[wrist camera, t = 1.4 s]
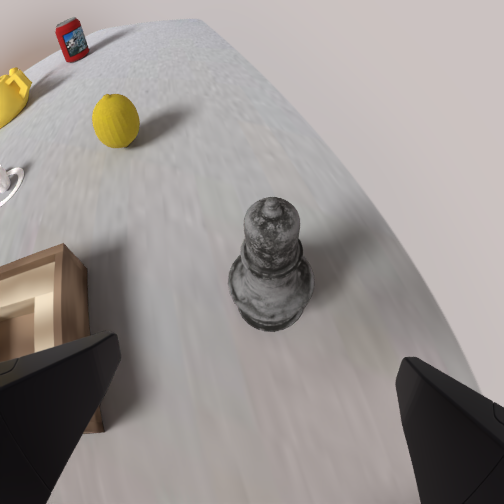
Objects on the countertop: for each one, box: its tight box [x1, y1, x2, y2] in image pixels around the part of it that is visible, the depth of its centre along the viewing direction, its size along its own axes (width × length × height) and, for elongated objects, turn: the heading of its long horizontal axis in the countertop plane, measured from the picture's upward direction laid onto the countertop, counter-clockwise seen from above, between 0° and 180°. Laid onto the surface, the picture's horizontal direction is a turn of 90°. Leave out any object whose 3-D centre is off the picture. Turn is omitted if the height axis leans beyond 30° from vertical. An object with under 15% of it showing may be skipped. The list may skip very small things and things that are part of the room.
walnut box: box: [0, 243, 104, 434], centre depth 20 cm, size 15×15×4 cm
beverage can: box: [56, 17, 89, 63], centre depth 53 cm, size 7×7×12 cm
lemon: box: [92, 94, 140, 148], centre depth 32 cm, size 6×6×8 cm
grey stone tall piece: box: [228, 197, 314, 332], centre depth 19 cm, size 6×6×12 cm
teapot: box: [0, 68, 32, 128], centre depth 44 cm, size 20×18×11 cm
